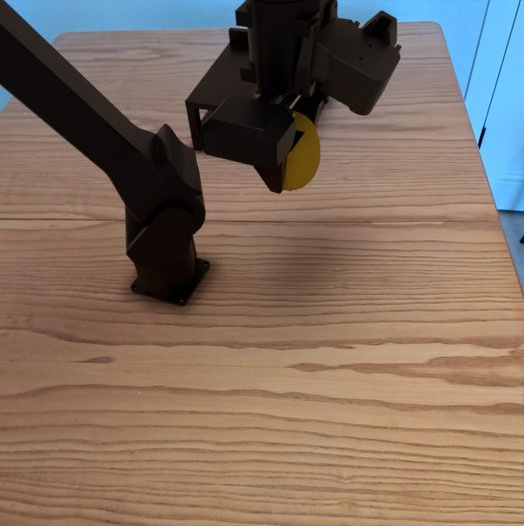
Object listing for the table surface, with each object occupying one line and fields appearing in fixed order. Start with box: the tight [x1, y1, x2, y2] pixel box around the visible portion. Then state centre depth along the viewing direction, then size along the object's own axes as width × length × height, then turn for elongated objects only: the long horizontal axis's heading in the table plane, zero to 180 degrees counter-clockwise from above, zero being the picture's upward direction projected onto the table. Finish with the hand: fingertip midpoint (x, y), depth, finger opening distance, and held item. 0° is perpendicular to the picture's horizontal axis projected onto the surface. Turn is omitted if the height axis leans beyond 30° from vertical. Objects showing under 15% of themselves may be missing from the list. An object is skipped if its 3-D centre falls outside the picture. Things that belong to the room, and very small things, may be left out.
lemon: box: [283, 111, 321, 192], centre depth 51 cm, size 6×6×8 cm
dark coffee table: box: [184, 27, 330, 152], centre depth 74 cm, size 16×14×8 cm
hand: (289, 173), depth 53 cm, fingers closed on lemon, 5 cm apart
